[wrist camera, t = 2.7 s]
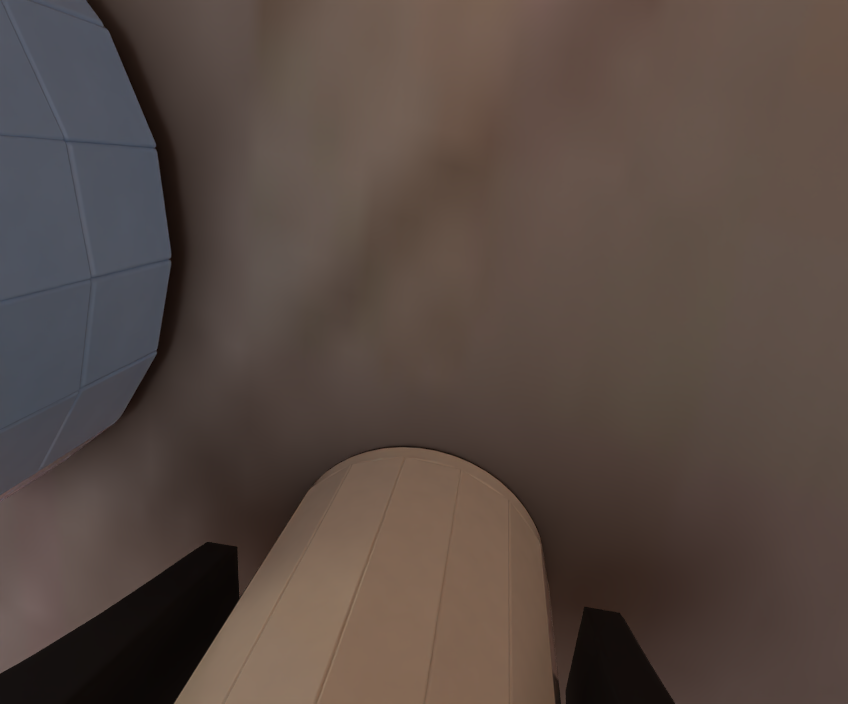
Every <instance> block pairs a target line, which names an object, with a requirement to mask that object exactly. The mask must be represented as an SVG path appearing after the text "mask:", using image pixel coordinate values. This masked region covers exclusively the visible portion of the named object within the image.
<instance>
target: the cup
mask: <svg viewBox="0 0 848 704" xmlns="http://www.w3.org/2000/svg"><path fill="white" fill-rule="evenodd" d="M173 704H561V700H560V690H559V681H558V671H557V661H556V651H555V641H554V631H553V622H552V612H551V602H550V592H549V585H548V579H547V574H546V569H545V560H544V551H543V547H542V543H541V539H540V536H539V533H538V531H537V529H536V527H535V524H534V522H533V520H532V519H531V517H530V515H529V514H528V512H527V511H526V509H525V507H524V506H523V505H522V504H521V502H520V501H519V500H518V499H517V498H516V496H515V495H514V494H513V493H512V492H511V491H510V490H509V489H508V488H507V487H505V486H504V485H503V484H502V483H501V482H500V481H499V480H497V479H496V478H495V477H493V476H492V475H490V474H489V473H488V472H486V471H485V470H483V469H481V468H479V467H477V466H476V465H474V464H472V463H470V462H468V461H465V460H463V459H460V458H458V457H456V456H453V455H450V454H446V453H442V452H439V451H435V450H429V449H423V448H411V447H395V448H383V449H378V450H373V451H368V452H365V453H362V454H359V455H356V456H353V457H351V458H349V459H347V460H345V461H343V462H341V463H339V464H337V465H336V466H334V467H333V468H331V469H330V470H328V471H327V472H325V473H324V474H323V475H322V476H321V477H320V478H319V479H318V480H317V481H316V482H315V483H314V484H313V485H312V487H311V488H310V489H309V490H308V492H307V493H306V494H305V496H304V498H303V499H302V501H301V502H300V504H299V506H298V507H297V509H296V510H295V512H294V513H293V515H292V516H291V518H290V519H289V521H288V522H287V524H286V526H285V527H284V529H283V530H282V532H281V533H280V535H279V537H278V538H277V540H276V541H275V543H274V545H273V546H272V548H271V549H270V551H269V552H268V554H267V556H266V557H265V559H264V560H263V562H262V563H261V565H260V567H259V568H258V570H257V571H256V573H255V575H254V576H253V578H252V579H251V581H250V582H249V584H248V586H247V587H246V589H245V590H244V592H243V593H242V595H241V597H240V598H239V600H238V601H237V603H236V605H235V606H234V608H233V609H232V611H231V612H230V614H229V616H228V617H227V619H226V620H225V622H224V623H223V625H222V627H221V628H220V630H219V631H218V633H217V635H216V636H215V638H214V639H213V641H212V642H211V644H210V646H209V647H208V649H207V650H206V652H205V653H204V655H203V657H202V658H201V660H200V661H199V663H198V665H197V666H196V668H195V669H194V671H193V672H192V674H191V676H190V677H189V679H188V680H187V682H186V683H185V685H184V687H183V688H182V690H181V691H180V693H179V695H178V696H177V698H176V699H175V701H174V702H173Z"/></svg>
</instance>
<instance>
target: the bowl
mask: <svg viewBox="0 0 848 704" xmlns="http://www.w3.org/2000/svg"><path fill="white" fill-rule="evenodd" d="M155 147H156V143H155V140H154V138H153V135H152V133H151V131H150V128H149V126H148V123H147V121H146V119H145V116H144V114H143V111H142V109H141V107H140V104H139V102H138V99H137V97H136V95H135V92H134V90H133V87H132V85H131V83H130V80H129V78H128V75H127V73H126V71H125V68H124V66H123V64H122V61H121V59H120V56H119V54H118V52H117V49H116V47H115V44H114V42H113V40H112V37H111V35H110V32H109V31H108V29H107V28H104V25H103V22H102V21H101V20H100V18H99V17H98V16H97V14H96V13H95V12H94V10H93V9H92V8H91V6H90V5H89V4H88V2H87V1H86V0H0V502H1V501H3V500H4V499H6V498H8V497H9V496H11V495H12V494H14V493H15V492H17V491H18V490H20V489H21V488H23V487H25V486H26V485H28V484H29V483H31V482H32V481H34V480H35V479H37V478H39V477H40V476H42V475H43V474H45V473H46V472H48V471H49V470H51V469H53V468H54V467H56V466H57V465H59V464H60V463H62V462H63V461H65V460H66V459H67V458H69V457H70V456H72V455H73V454H74V453H76V452H77V451H78V450H80V449H81V448H82V447H84V446H85V445H86V444H88V443H89V442H90V441H92V440H93V439H94V438H96V437H97V436H98V435H100V434H101V433H102V432H104V431H105V430H106V429H108V428H109V427H110V426H112V425H113V424H114V423H115V422H116V421H117V420H118V419H120V417H121V415H122V414H123V412H124V410H125V409H126V407H127V405H128V403H129V402H130V400H131V398H132V396H133V395H134V393H135V391H136V389H137V388H138V386H139V384H140V382H141V381H142V379H143V377H144V375H145V374H146V372H147V370H148V368H149V367H150V365H151V363H152V361H153V360H154V358H155V356H156V354H157V351H156V350H157V348H158V344H159V338H160V332H161V325H162V319H163V313H164V307H165V301H166V295H167V288H168V282H169V276H170V270H171V264H172V263H171V260H169V259H170V258H171V256H172V252H171V245H170V238H169V231H168V224H167V216H166V209H165V202H164V195H163V187H162V180H161V173H160V166H159V159H158V152H157V150H156V149H155Z"/></svg>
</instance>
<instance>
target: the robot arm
mask: <svg viewBox="0 0 848 704" xmlns="http://www.w3.org/2000/svg"><path fill="white" fill-rule="evenodd" d="M238 600H239V581H238V557H237V547H235V546H229V545H223V544H217V543H212V542H207V543H205V544H204V545H202V546H200V547H199V548H197V549H196V550H194V551H193V552H191V553H190V554H188V555H187V556H185V557H184V558H182V559H181V560H180V561H178V562H177V563H175V564H174V565H172V566H171V567H169V568H168V569H166V570H165V571H163V572H162V573H161V574H159V575H158V576H156V577H155V578H153V579H152V580H150V581H149V582H147V583H146V584H144V585H143V586H141V587H140V588H138V589H137V590H135V591H134V592H132V593H131V594H129V595H128V596H126V597H125V598H123V599H122V600H120V601H119V602H117V603H116V604H114V605H113V606H111V607H110V608H108V609H107V610H105V611H104V612H102V613H101V614H99V615H98V616H96V617H94V618H93V619H91V620H89V621H88V622H86V623H85V624H83V625H81V626H80V627H78V628H76V629H75V630H73V631H72V632H70V633H68V634H67V635H65V636H63V637H62V638H60V639H59V640H57V641H55V642H54V643H52V644H50V645H49V646H47V647H46V648H44V649H42V650H41V651H39V652H37V653H36V654H34V655H32V656H31V657H29V658H27V659H26V660H24V661H22V662H20V663H19V664H17V665H15V666H13V667H11V668H10V669H8V670H6V671H4V672H3V673H1V674H0V704H173V702H174V701H175V699H176V698H177V696H178V695H179V693H180V691H181V690H182V688H183V687H184V685H185V683H186V682H187V680H188V679H189V677H190V676H191V674H192V672H193V671H194V669H195V668H196V666H197V665H198V663H199V661H200V660H201V658H202V657H203V655H204V653H205V652H206V650H207V649H208V647H209V646H210V644H211V642H212V641H213V639H214V638H215V636H216V635H217V633H218V631H219V630H220V628H221V627H222V625H223V623H224V622H225V620H226V619H227V617H228V616H229V614H230V612H231V611H232V609H233V608H234V606H235V605H236V603H237V601H238ZM566 704H675V703H674V701H673V699H672V698H671V696H670V695H669V693H668V691H667V690H666V688H665V687H664V685H663V683H662V682H661V680H660V679H659V677H658V675H657V674H656V672H655V670H654V669H653V667H652V665H651V664H650V662H649V660H648V659H647V657H646V655H645V654H644V652H643V650H642V649H641V647H640V645H639V644H638V642H637V640H636V639H635V637H634V635H633V633H632V632H631V630H630V628H629V626H628V625H627V623H626V621H625V620H624V618H623V617H622V616H621V614H620V613H617V612H612V611H606V610H600V609H594V608H588V607H584V611H583V616H582V620H581V624H580V629H579V633H578V638H577V642H576V647H575V651H574V656H573V660H572V665H571V669H570V673H569V678H568V682H567V687H566Z"/></svg>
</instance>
